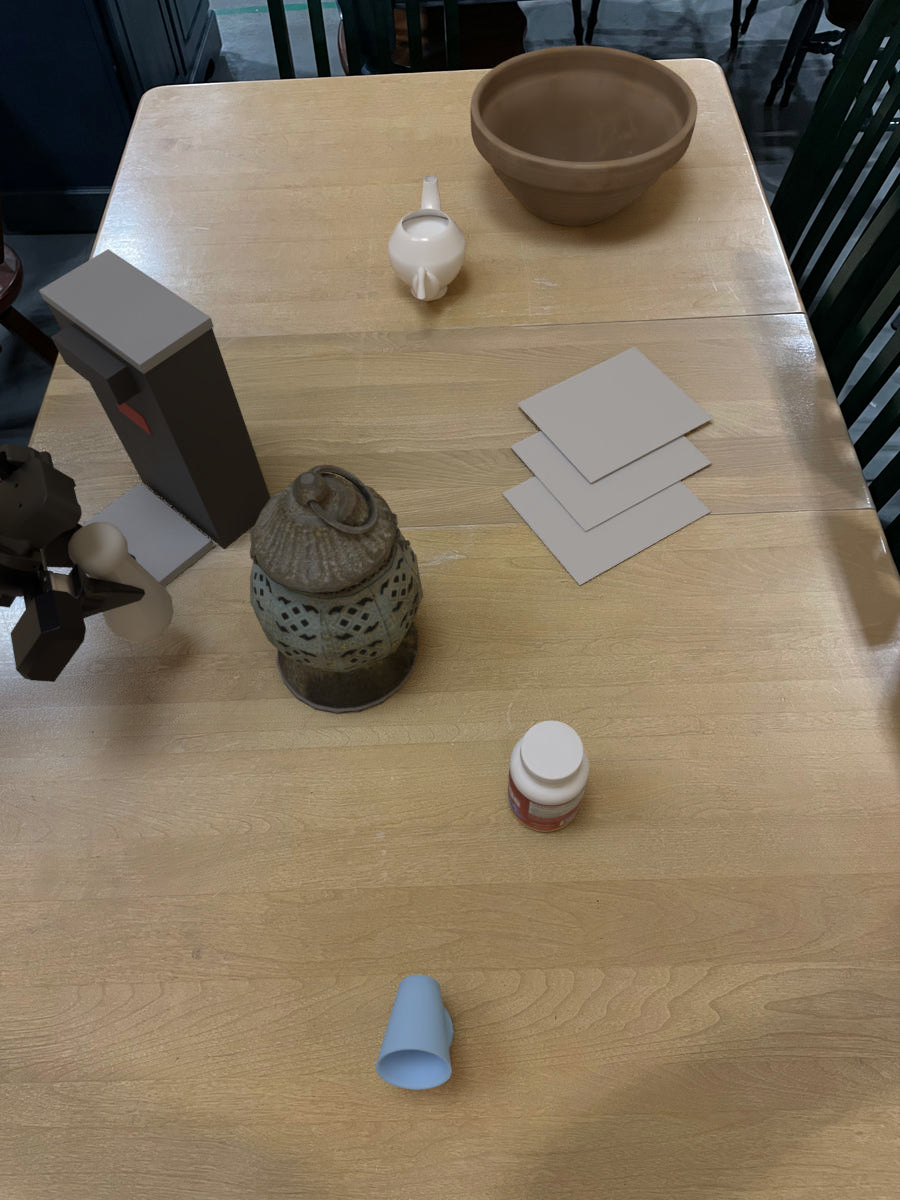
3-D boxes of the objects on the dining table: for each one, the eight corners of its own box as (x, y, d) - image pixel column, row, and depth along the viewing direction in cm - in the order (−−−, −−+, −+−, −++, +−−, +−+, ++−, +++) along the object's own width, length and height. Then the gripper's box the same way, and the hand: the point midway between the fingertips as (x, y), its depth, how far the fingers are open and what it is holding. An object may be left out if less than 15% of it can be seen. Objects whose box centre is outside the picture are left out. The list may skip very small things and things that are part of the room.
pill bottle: (509, 760, 74) (512, 707, 65) (580, 766, 74) (594, 712, 64) (505, 831, 71) (508, 785, 61) (579, 837, 70) (593, 791, 61)
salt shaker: (170, 587, 78) (119, 498, 67) (189, 635, 75) (139, 550, 64) (108, 613, 77) (46, 526, 66) (125, 662, 74) (63, 580, 63)
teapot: (385, 342, 103) (376, 276, 95) (399, 240, 114) (392, 174, 106) (463, 342, 103) (461, 277, 95) (470, 240, 113) (469, 173, 105)
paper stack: (771, 477, 90) (773, 473, 89) (579, 585, 83) (580, 581, 83) (633, 351, 101) (634, 346, 100) (454, 438, 94) (454, 433, 94)
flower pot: (679, 143, 123) (698, 45, 112) (677, 268, 109) (699, 169, 97) (485, 135, 127) (485, 39, 115) (458, 255, 112) (455, 158, 101)
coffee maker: (134, 622, 83) (14, 448, 62) (53, 546, 89) (-84, 362, 67) (276, 508, 90) (210, 317, 69) (192, 444, 96) (107, 248, 74)
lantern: (319, 569, 86) (264, 384, 65) (449, 612, 82) (436, 433, 61) (251, 685, 79) (164, 522, 58) (389, 738, 76) (351, 585, 55)
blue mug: (455, 1093, 61) (457, 988, 65) (450, 1087, 52) (452, 967, 56) (386, 1091, 61) (392, 987, 65) (370, 1085, 53) (378, 965, 56)
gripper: (-12, 571, 51) (214, 605, 62) (-43, 374, 60) (159, 435, 72) (-75, 678, 56) (144, 692, 68) (-94, 481, 66) (101, 522, 77)
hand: (138, 578), depth 71 cm, fingers closed on salt shaker, 3 cm apart
